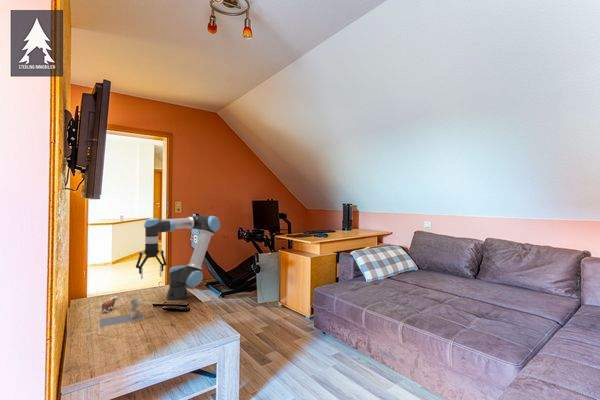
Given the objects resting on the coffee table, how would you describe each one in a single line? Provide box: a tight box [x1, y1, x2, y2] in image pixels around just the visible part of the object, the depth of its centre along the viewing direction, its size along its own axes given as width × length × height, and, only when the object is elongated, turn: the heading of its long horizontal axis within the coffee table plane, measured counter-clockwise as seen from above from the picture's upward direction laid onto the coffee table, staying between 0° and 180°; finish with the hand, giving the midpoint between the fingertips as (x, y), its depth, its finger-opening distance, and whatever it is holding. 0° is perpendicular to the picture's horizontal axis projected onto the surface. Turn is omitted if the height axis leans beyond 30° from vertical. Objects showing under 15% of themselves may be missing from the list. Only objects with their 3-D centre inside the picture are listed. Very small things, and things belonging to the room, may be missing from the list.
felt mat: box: [99, 311, 144, 328], centre depth 182 cm, size 22×13×1 cm, turn 123°
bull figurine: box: [101, 295, 120, 314], centre depth 196 cm, size 4×13×8 cm, turn 174°
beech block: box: [129, 298, 141, 319], centre depth 186 cm, size 5×5×10 cm
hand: (151, 277), depth 190 cm, fingers open, 10 cm apart
